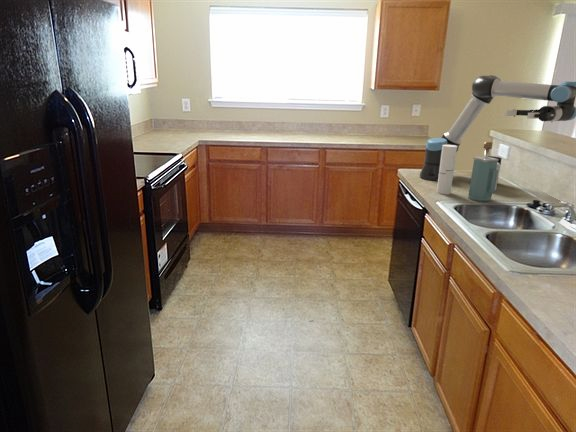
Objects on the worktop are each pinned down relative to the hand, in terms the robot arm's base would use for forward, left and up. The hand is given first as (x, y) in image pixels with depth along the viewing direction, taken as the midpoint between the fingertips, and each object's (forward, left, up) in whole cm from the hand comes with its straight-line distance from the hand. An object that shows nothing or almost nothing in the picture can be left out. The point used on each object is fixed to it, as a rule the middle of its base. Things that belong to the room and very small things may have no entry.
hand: (516, 114), depth 213 cm
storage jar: (-26, +15, -42) cm, 52 cm away
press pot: (+1, -15, -42) cm, 45 cm away
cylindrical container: (-16, -24, -42) cm, 51 cm away
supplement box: (-16, +4, -42) cm, 45 cm away
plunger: (0, -15, -38) cm, 41 cm away
